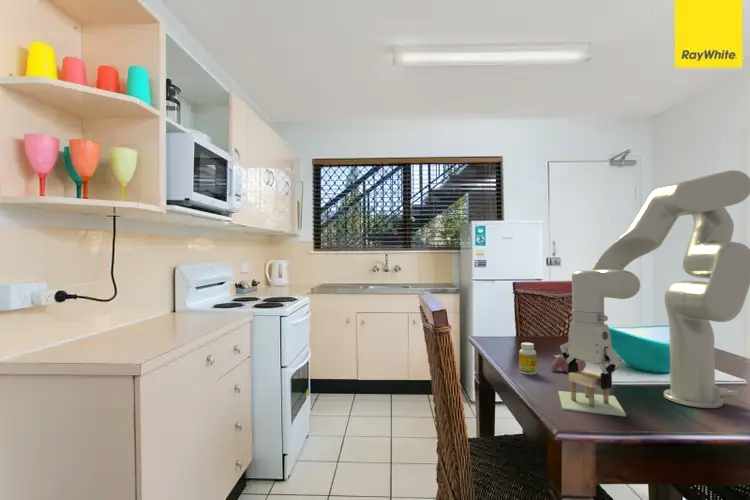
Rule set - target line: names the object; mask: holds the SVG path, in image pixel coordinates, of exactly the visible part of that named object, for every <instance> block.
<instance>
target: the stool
mask: <svg viewBox="0 0 750 500" xmlns="http://www.w3.org/2000/svg"><path fill="white" fill-rule="evenodd" d="M567 374H569V378H568V381H569V382H570V392H571V400H572V401H576V393H577V384H578V385H581V386H584V393H585V397H587V398H589V407H594V394H595V388H600V387H601V373H599V372H596V371H593V370H589V369H584V370H583V371H578V372H572V373H568V372H567ZM602 390H603V391H602V395H603V403H604V404H609V396H610V395H609V393H610V391H609V389H602Z"/></svg>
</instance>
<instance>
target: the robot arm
mask: <svg viewBox="0 0 750 500" xmlns="http://www.w3.org/2000/svg"><path fill="white" fill-rule="evenodd" d="M749 196H750V176H749V175H748V174H746V173H745V172H743V171H741V170H734V169H733V170H732V169H731V170H725V171H722V172H717V173H712V174H708V175H703V176H699V177H695V178H693V179H689V180H685V181H680V182H675V183H671V184H667V185H663V186H659V187H657V188H656V189H654V190H653V191H652V192H651V193H650V194H649V195H648V197H647V199H646V200H645V202H644V203H643V205H642V206H641V208H640V210H639V211H638V213H637V215H636V216H635V218H634V220H633V221H632V223H631V224H630V226H629V228H628V229H627V230H626V232H624V233H623V234H622V235H621V236H620V237H618V239H616V240H615V241H614V242H613V243H612V244H611V245H610V246H608V247H607V248H606V249H605V250H604V252H603V253H602V254H601V255H600V256H599V257H598V259H597V261H596V263H595V264H594V265H593V267H592V269H591V270H576V271H574V272H573V273H572V275H571V307H572V308H571V309H572V314H571V315H572V318H571V319H572V320H571V321H570V324H569V329H568V341H567V342H565V343H563V344H561V345H559V348H560V351H561V353H562V355H563V357H564V358H565V360H566V363H567V364H568V371H567V374H568V373H572V372H578V363H576V362H577V360H581V361H584V362H585V363H591V364H595V365H598V367H599V369H600V370H601V373H600V374H601V386H600V389H601V390H603V389H608V390H609V389H611V388H612V385H613V375H612V374H613V373H615V371H616V370H617V369H618V368H619V366H620V365H621V363H622V357H621V356H619V355H618V354H617V353H615V352H614V351H613V348H612V346H613V345H612V339H611V338H612V337H611V333H610V329H609V326H608V324H607V323H605V322H607V321H608V320H609V317H608V316H607V315H605V298H609V299H619V300H626V299H627V300H628V299H631V298H633V297H635V296H636V295H637V294H638V293H639V291H640V289H641V281H640V279H639V277H638V276H637V275H636V274H634V272H631V271H628V270H626V269H625V268H626V267H627V266H628V265H629V264H630V263H632V262H633V261H635V260H636V259H638V258H640V257H642V256H644V255H647V254H649V253H651V252H653V251H655V250H656V249H658V248H660V247H661V245H662V244H663V243H664V241H665V239H666V238H667V236H668V235H669V233H670V231H671V230H672V228H673V227H674V225H675V223H676V221H677V220H678V219H679V218H680V217H681V216H689V215H691V216H692V219H693V227H692V232H691V235H690V238H689V241H688V243H687V247H686V250H685V253H684V255H683V256H684V257H683V259H682V269H683V271H684V272H685V273H686V274H687V275H689V276H692V277H695V278H699V279H708V281H707V282H706V281H695V280H694V281H693V280H680V281H676V282H675V283H673V284H671V285H670V286H669V287H668V288H667V289H666V291H665V292H664V306H665V309H666V313H667V319H668V327H669V370H670V371H669V375H670V376H669V377H670V378H669V379H670V380H669V381H670V382H669V383H670V388H669V389H668V388H667V389H665V390H664V391H663V397H664V398H665V399H667V400H668V401H671V402H673V403H675V404H680V405H683V406H688V407H693V408H694V407H695V408H701V409H717V408H721V407H723V406H724V400H723V399H724V398H730V399H739V398H740V393H739V391H738V390H736V389H735V390H734V389H728V388H725V387H719V386H718V385H717V384H716V377H715V376H716V372H715V371H716V369H715V368H716V367H715V333H714V330H713V327H712V325H711V322H716V323H717V322H718V323H726V322H729V321H732V320H733V319H735V318H736V317H737V316H738V315H739V314H740V312H741V311H742V308H743V307H744V303H745V301H746V298H747V294H748V292H749V288H750V248H749V247H748V246H747V245H746V244H743V243H741V242H736V241H732V238H733V233H734V230H735V229H734V227H735V226H734V225H735V224H734V220H733V218H732V217H731V215H730V213H729V212H728V210H727V208H726V207H730V206H733V205H737V204H740V203H742V202H744V201H746V200H747V198H748V197H749ZM624 269H625V270H624ZM710 321H711V322H710ZM567 378H568V379H569V374H568V375H567Z"/></svg>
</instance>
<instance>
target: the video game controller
mask: <svg viewBox="0 0 750 500" xmlns="http://www.w3.org/2000/svg"><path fill="white" fill-rule="evenodd" d="M562 354H563V353H562ZM562 354H559V355H558V356H556V358H555V360H554V361H553V363H552V364H551V368H550V369H551V371H552V372H556V371H557V370H558V369H559V368H560V370H562V371H563V372H565V373H568V364H567V363H566V360H565V358H564V357H563V355H562ZM576 363H578V371H583V370H585V368H586V366H587V362H585V361H581V360H577V362H576Z"/></svg>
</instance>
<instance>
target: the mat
mask: <svg viewBox="0 0 750 500" xmlns="http://www.w3.org/2000/svg"><path fill="white" fill-rule="evenodd" d="M557 392H558V397H559V401H560V405H561V409H562V411H569V410H570V411H571V412H579V413H588V414H589V413H591V414H601V415H607V416H608V415H610V416H618V417H627V414H626V412H625V410H624V409H623V408H622V405H621V404H620V403H619V401H618V400H617V397H616V396H615V395H609V404H604V403H603V394H595V393H594V407H589V398H587V397H585V392H576V401H572V400H571V391H566V390H565V391H563V390H562V391H561V390H558V391H557ZM570 411H569V412H570Z"/></svg>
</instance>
